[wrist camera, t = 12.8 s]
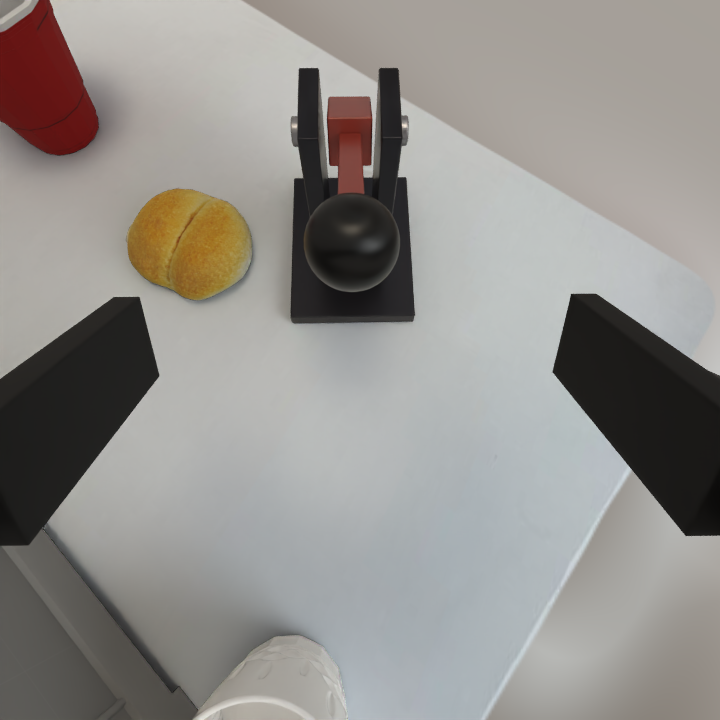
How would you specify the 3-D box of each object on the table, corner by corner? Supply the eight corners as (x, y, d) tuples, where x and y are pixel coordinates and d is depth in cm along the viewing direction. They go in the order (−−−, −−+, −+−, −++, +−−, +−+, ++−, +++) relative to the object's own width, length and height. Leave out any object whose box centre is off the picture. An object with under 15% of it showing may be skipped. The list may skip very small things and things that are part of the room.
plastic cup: (147, 154, 37) (53, 2, 25) (17, 198, 35) (-144, 57, 24) (113, 64, 40) (15, -110, 28) (-8, 102, 38) (-164, -66, 27)
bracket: (412, 321, 33) (451, 206, 19) (292, 323, 33) (249, 209, 19) (404, 186, 36) (433, 11, 23) (296, 188, 36) (261, 12, 23)
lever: (400, 310, 17) (408, 228, 14) (305, 312, 17) (295, 229, 14) (381, 153, 25) (383, 82, 22) (318, 154, 25) (313, 83, 22)
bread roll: (224, 318, 33) (206, 295, 29) (122, 272, 34) (92, 244, 30) (276, 231, 35) (266, 198, 31) (179, 190, 36) (158, 154, 32)
